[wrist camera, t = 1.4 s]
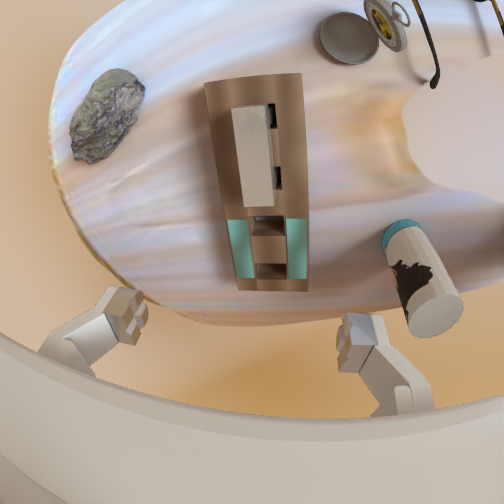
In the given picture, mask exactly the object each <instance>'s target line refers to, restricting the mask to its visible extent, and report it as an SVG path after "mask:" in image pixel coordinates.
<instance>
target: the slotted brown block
mask: <svg viewBox="0 0 504 504" xmlns="http://www.w3.org/2000/svg"><path fill="white" fill-rule="evenodd" d="M204 88H205V95H206V102H207V109H208V115H209V122H210V128H211V135H212V141H213V148H214V154H215V160H216V166H217V172H218V178H219V184H220V190H221V196H222V202H223V208H224V214H225V220H226V225H227V231H228V237H229V242H230V248H231V253H232V259H233V264H234V270H235V275H236V281H237V286H238V290H252V291H308V270H309V203H308V167H307V145H306V127H305V112H304V99H303V87H302V76H301V73H291V74H273V75H260V76H250V77H241V78H233V79H226V80H219V81H213V82H207V83H204ZM264 103H275V108H276V119H277V123H276V124H270V129H271V139H272V150H273V161H274V167H276V166H281V178H278V181H277V185H276V198H275V203H274V206H261V207H244V202H243V195H242V187H241V180H240V172H239V165H238V157H237V150H236V142H235V135H234V127H233V120H232V112H231V109H232V108H234V107H236V106H241V105H252V104H264ZM275 215H284V220H266V221H256V218H255V216H275Z"/></svg>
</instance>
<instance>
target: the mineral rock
mask: <svg viewBox="0 0 504 504" xmlns="http://www.w3.org/2000/svg"><path fill="white" fill-rule="evenodd" d="M144 91H145V86H143V85H142V84H141V83H140V82H139V81H138V79H137V78H136V77H135V75H133V74H132V73H130V72H128V71H126V70H123V69H111V70H108V71H107V72H105V73H104V74H102V75H101V76H100V77H99V78H98V79H96V80H95V82H94V83H93V85H92V87H91V89H90V91H89V93H88V94H87V95H86V97H85V98H84V100H83V102H82V103H81V104H80V105H79V107H78V108H77V109H76V111H75V112H74V114H73V117H72V120H71V123H70V133H69V134H70V136H71V139H72V144H71V148H72V151H73V153H74V159H75V160H76V161H79V160H85V161H86V162H87V163H88V164H93V163H97V162H99V161H100V160H103V159H105V158H107V157H108V156H109V155H110V153H111V152H112V151H113V150H114V149H115V148H117V146H118V144H119V143H120V142H122V141H123V137H124V135H125V134H126V133H127V132H130V130H131V127H132V125H133V124H134V123H135V122H136V121H137V118H138V111H139V108H140V106H141V103H142V101H143V99H144Z"/></svg>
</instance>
